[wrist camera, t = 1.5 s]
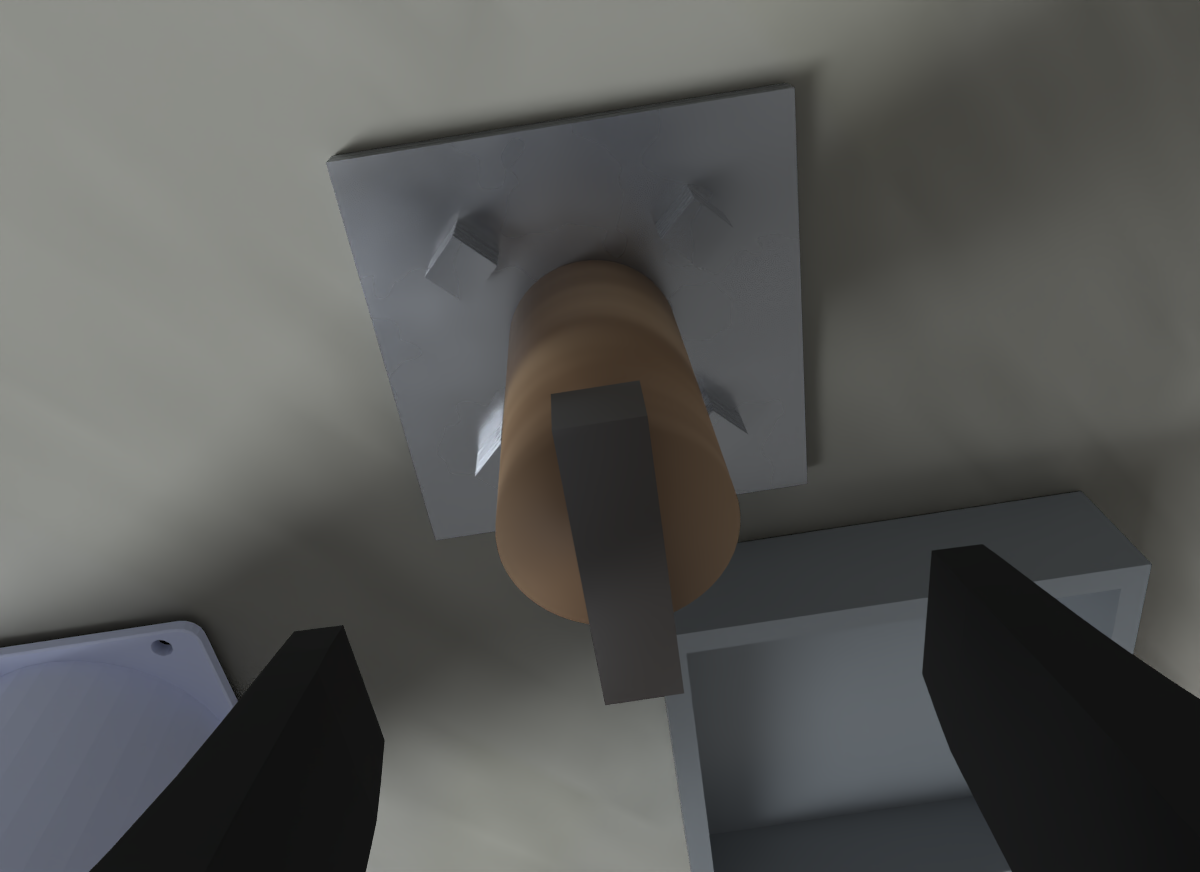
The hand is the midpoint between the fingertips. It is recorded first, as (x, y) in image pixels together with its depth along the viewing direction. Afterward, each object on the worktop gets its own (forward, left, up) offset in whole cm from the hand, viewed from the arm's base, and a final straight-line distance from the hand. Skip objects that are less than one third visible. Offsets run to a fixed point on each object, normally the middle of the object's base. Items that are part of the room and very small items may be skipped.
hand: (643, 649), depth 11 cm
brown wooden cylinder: (0, 0, -9) cm, 9 cm away
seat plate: (0, 0, -10) cm, 10 cm away
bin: (+6, -12, -10) cm, 17 cm away
